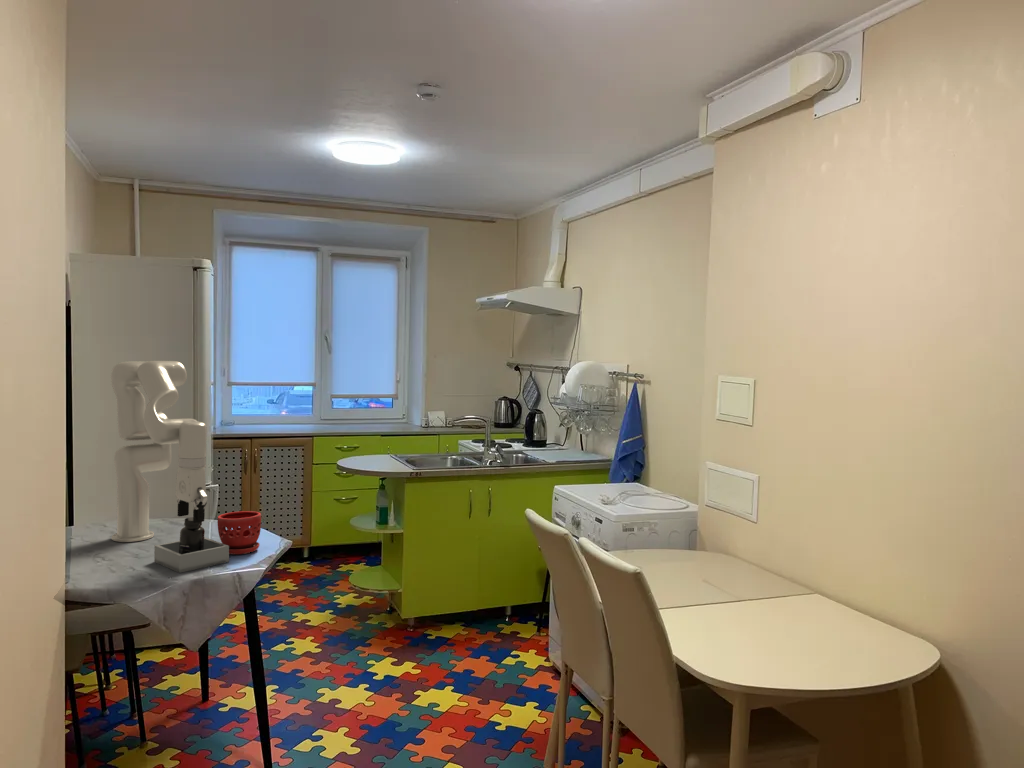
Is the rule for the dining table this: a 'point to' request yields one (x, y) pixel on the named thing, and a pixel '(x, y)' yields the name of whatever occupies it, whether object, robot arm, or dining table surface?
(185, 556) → the tray
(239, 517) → the plant pot
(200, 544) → the supplement bottle
